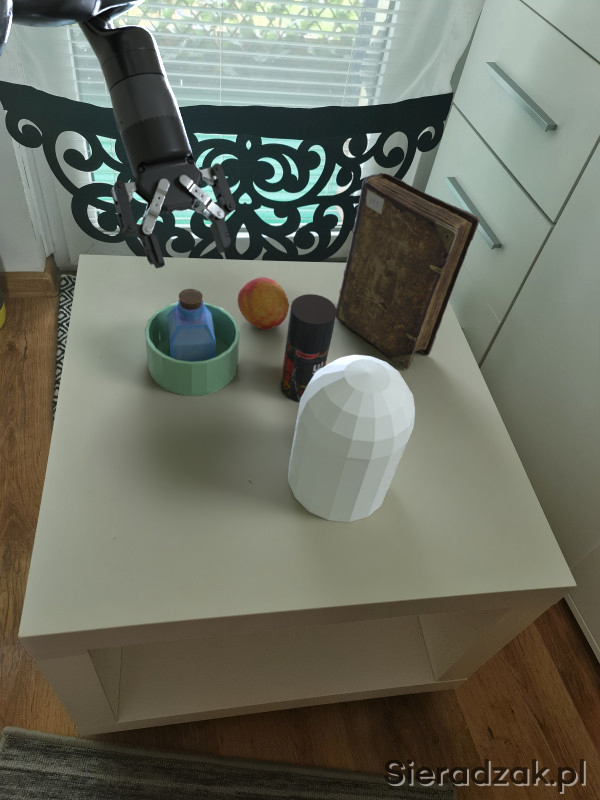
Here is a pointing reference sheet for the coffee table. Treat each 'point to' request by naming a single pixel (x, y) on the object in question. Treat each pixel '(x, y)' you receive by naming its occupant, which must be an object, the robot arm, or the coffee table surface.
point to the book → (402, 266)
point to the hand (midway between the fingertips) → (193, 259)
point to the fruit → (263, 303)
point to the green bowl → (199, 373)
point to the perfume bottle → (191, 329)
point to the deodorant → (306, 342)
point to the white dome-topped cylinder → (349, 437)
